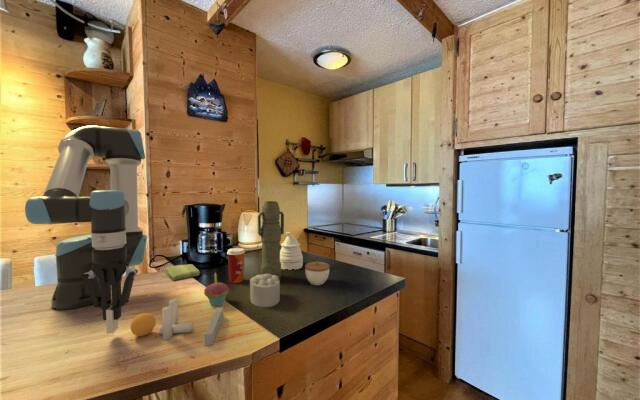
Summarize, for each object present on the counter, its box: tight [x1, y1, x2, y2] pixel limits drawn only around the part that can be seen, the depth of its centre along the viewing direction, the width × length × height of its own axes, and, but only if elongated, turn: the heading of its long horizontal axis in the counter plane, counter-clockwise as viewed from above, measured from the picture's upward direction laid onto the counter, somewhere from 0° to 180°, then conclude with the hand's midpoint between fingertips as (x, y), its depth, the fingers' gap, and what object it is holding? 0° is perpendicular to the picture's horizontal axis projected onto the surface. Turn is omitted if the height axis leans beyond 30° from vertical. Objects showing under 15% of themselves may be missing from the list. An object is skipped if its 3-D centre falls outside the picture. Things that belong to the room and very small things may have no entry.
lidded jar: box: [304, 260, 331, 286], centre depth 121 cm, size 11×11×9 cm
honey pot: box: [280, 231, 304, 271], centre depth 144 cm, size 13×13×18 cm
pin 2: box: [168, 298, 179, 324], centre depth 82 cm, size 2×2×8 cm
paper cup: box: [226, 247, 246, 284], centre depth 122 cm, size 8×8×14 cm
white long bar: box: [203, 306, 224, 346], centre depth 81 cm, size 2×16×3 cm, turn 10°
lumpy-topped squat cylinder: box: [249, 273, 281, 308], centre depth 103 cm, size 10×13×9 cm
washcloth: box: [164, 263, 201, 281], centre depth 131 cm, size 13×18×3 cm
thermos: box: [257, 200, 285, 281], centre depth 124 cm, size 9×12×35 cm
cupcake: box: [203, 271, 230, 306], centre depth 99 cm, size 9×8×12 cm
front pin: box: [158, 322, 194, 335], centre depth 80 cm, size 2×2×8 cm
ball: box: [130, 312, 157, 337], centre depth 78 cm, size 6×6×6 cm
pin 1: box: [161, 305, 173, 341], centre depth 77 cm, size 2×2×8 cm
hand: (112, 330), depth 77 cm, fingers closed
